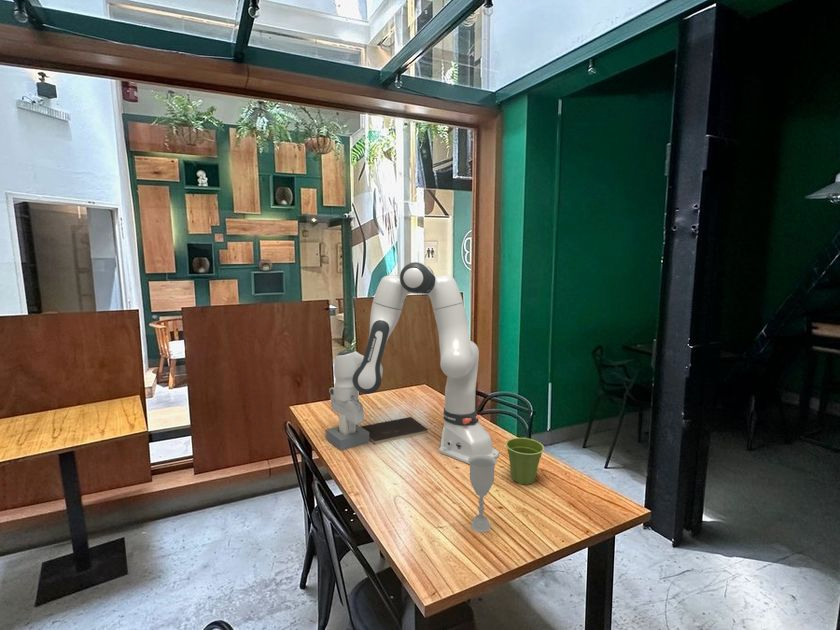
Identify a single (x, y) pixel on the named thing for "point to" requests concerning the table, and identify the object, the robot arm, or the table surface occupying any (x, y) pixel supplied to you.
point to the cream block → (344, 425)
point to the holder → (347, 438)
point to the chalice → (481, 486)
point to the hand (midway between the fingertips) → (347, 428)
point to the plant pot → (524, 459)
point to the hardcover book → (394, 430)
